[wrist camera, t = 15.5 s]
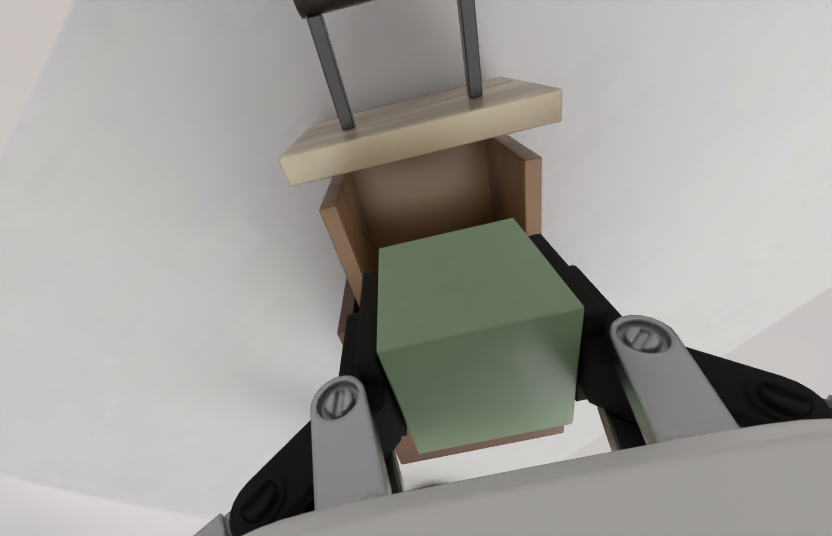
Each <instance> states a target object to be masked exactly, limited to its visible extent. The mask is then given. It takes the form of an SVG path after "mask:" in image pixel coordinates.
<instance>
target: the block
mask: <svg viewBox="0 0 832 536" xmlns="http://www.w3.org/2000/svg"><path fill="white" fill-rule="evenodd" d="M583 315H584V306H583V305H582V304H581V302H580V301H579V300H578V299H577V297H576V296H575V295H574V294H573V292H572V291H571V290H570V289H569V287H568V286H567V285H566V284H565V282H564V281H563V280H562V279H561V277H560V276H559V275H558V273H557V272H556V271H555V270H554V268H553V267H552V266H551V265H550V263H549V262H548V261H547V260H546V258H545V257H544V256H543V255H542V253H541V252H540V251H539V250H538V248H537V247H536V246H535V245H534V243H533V242H532V241H531V240H530V238H529V237H528V236H527V235H526V233H525V232H524V231H523V230H522V228H521V227H520V226H519V225H518V223H517V222H516V221H515V220H514V218H510V219H505V220H501V221H497V222H492V223H488V224H484V225H479V226H475V227H471V228H466V229H462V230H458V231H453V232H449V233H445V234H440V235H436V236H431V237H427V238H423V239H418V240H414V241H410V242H405V243H401V244H397V245H392V246H388V247H384V248H380V249H379V272H378V314H377V354H378V356H379V359H380V361H381V363H382V366H383V368H384V371H385V373H386V375H387V378H388V380H389V383H390V385H391V388H392V390H393V392H394V395H395V397H396V400H397V402H398V404H399V407H400V409H401V412H402V414H403V417H404V419H405V421H406V424H407V426H408V429H409V431H410V433H411V436H412V438H413V441H414V443H415V445H416V448H417V450H418V452H419V453H420V454H421V453H426V452H431V451H436V450H441V449H446V448H451V447H457V446H462V445H467V444H472V443H477V442H482V441H487V440H492V439H497V438H502V437H507V436H512V435H517V434H522V433H527V432H532V431H537V430H542V429H547V428H552V427H557V426H563V425H568V424H571V423H572V421H573V411H574V402H575V392H576V382H577V373H578V363H579V354H580V344H581V334H582V325H583Z"/></svg>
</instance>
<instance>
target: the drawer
mask: <svg viewBox="0 0 832 536" xmlns="http://www.w3.org/2000/svg"><path fill="white" fill-rule="evenodd" d="M293 1H294V4H295V6H296V9H297V11H298V13H299V15H300V16H301V18H302V19H307V22H308V25H309V28H310V31H311V34H312V37H313V40H314V44H315V47H316V50H317V53H318V56H319V59H320V62H321V65H322V69H323V72H324V75H325V78H326V81H327V84H328V87H329V90H330V93H331V97H332V100H333V103H334V106H335V109H336V112H337V115H338V118H335V119H331V120H327V121H323V122H319V123H315V124H313V125H312V126H311V127H310V128H309V129H308V130H307V131H306V132H305V133H304V134H303V135H302V136H301V137H300V138H299V139H298V140H297V141H296V142H295V143H294V144H293V145H292V146H291V147H290V148H289V149H288V150H287V151H286V152H285V153H284V154H283V155H282V156H281V157H280V158H279V159H278V160H279V163H280V165H281V167H282V169H283V172H284V174H285V176H286V178H287V181H288V183H289V185H290V186H295V185H299V184H304V183H308V182H312V181H316V180H320V179H324V178H328V177H332V176H333V178H332V180H331V183H330V185H329V188H328V190H327V193H326V195H325V197H324V200H323V202H322V205H321V207H320V209H319V211H320V213H321V216H322V218H323V221H324V223H325V226H326V228H327V230H328V233H329V235H330V238H331V240H332V243H333V245H334V247H335V250H336V252H337V255H338V257H339V259H340V262H341V264H342V267H343V269H344V272H345V274H346V276H347V279H348V281H349V284H350V286H351V289H352V291H353V293H354V296H355V298H356V301H357V303H358V306H359V308H360V298H361V287H362V277H363V273H367V272H371V271H375V270H379V249H380V248H384V247H388V246H392V245H397V244H401V243H405V242H410V241H414V240H418V239H423V238H427V237H431V236H436V235H440V234H445V233H449V232H453V231H458V230H462V229H466V228H471V227H475V226H479V225H484V224H488V223H492V222H497V221H501V220H505V219H510V218H514V220H515V221H516V222H517V223H518V225H519V226H520V227H521V228H522V230H523V231H524V232H525V233H526V235H527V236H530V235H534V234H541V168H542V158H541V157H540V156H539V155H537V154H536V153H534V152H533V151H531V150H530V149H528V148H527V147H525V146H523V145H522V144H520V143H519V142H517V141H516V140H514V139H513V138H511V137H510V136H508V135H507V134H510V133H514V132H518V131H522V130H526V129H531V128H535V127H539V126H543V125H547V124H551V123H555V122H559V121H561V112H562V89H561V88H555V87H550V86H545V85H540V84H535V83H529V82H524V81H519V80H514V79H508V78H503V77H498V78H494V79H490V80H486V81H482V80H481V68H480V57H479V45H478V34H477V22H476V11H475V0H457V5H458V14H459V23H460V32H461V42H462V51H463V60H464V69H465V78H466V86H462V87H458V88H454V89H450V90H446V91H442V92H438V93H434V94H430V95H426V96H422V97H418V98H414V99H410V100H407V101H403V102H399V103H395V104H391V105H387V106H383V107H379V108H375V109H371V110H367V111H363V112H359V113H355V114H352V112H351V108H350V105H349V102H348V98H347V95H346V92H345V88H344V85H343V81H342V78H341V75H340V71H339V68H338V65H337V61H336V58H335V54H334V51H333V48H332V44H331V41H330V38H329V34H328V31H327V28H326V24H325V21H324V17H323V16H322V14H325V13H329V12H333V11H337V10H340V9H344V8H348V7H351V6H355V5H359V4H363V3H366V2H370V1H374V0H293Z"/></svg>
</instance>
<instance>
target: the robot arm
mask: <svg viewBox="0 0 832 536" xmlns="http://www.w3.org/2000/svg"><path fill="white" fill-rule="evenodd" d="M528 237H529V238H530V240H531V241H532V242H533V243H534V245H535V246H536V247H537V248H538V250H539V251H540V252H541V253H542V255H543V256H544V257H545V258H546V260H547V261H548V262H549V263H550V265H551V266H552V267H553V268H554V270H555V271H556V272H557V273H558V275H559V276H560V277H561V279H562V280H563V281H564V282H565V284H566V285H567V286H568V287H569V289H570V290H571V291H572V292H573V294H574V295H575V296H576V297H577V299H578V300H579V301H580V302H581V304H582V305H583V306H584V315H583V325H582V334H581V344H580V354H579V363H578V373H577V382H576V392H575V400H576V401H581V400H586V399H588V401H589V402H590V403H592V404H594V405H596V406H597V407H598V411H599V414H600V417H601V420H602V424H603V427H604V430H605V433H606V436H607V438H608V442H609V445H610V447H611V451H612V452H608V453H602V454H597V455H592V456H587V457H581V458H576V459H571V460H565V461H560V462H555V463H550V464H545V465H539V466H534V467H529V468H524V469H519V470H514V471H508V472H503V473H498V474H493V475H488V476H483V477H477V478H472V479H467V480H462V481H457V482H452V483H447V484H442V485H437V486H432V487H427V488H422V489H417V490H412V491H405V487H404V483H403V479H402V476H401V472H400V468H399V464H398V461H397V457H396V453H395V450H394V449H395V448H396V447H397V445H398V444H399V443H400V441H401V440H402V438H401V437H402V436H407V424H406V421H405V419H404V417H403V414H402V412H401V409H400V407H399V404H398V402H397V400H396V397H395V395H394V392H393V390H392V388H391V385H390V383H389V380H388V378H387V375H386V373H385V371H384V368H383V366H382V363H381V361H380V359H379V356H378V354H377V314H378V272H379V270H375V271H371V272H367V273H363V277H362V287H361V298H360V308H359V312H358V313H354V314H349V315H348V316H347V321H346V328H345V335H344V342H343V349H342V357H341V364H340V371H339V377H336V378H334V379H332V380H330V381H328V382H327V383H325V384H324V385H323V386H322V387H321V388H320V389H319V390H318V391H317V393H316V394H315V396H314V398H313V400H312V402H311V410H310V411H311V420H310V421H309V422H308V423H307V424H306V425H305V426H304V427H303V428H302V429H301V430H300V431H299V432H298V433H297V434H296V435H295V436H294V437H293V438H292V439H291V440H290V441H289V442H288V443H287V444H286V445H285V446H284V447H283V448H282V449H281V450H280V451H279V452H278V453H277V454H276V455H275V456H274V457H273V458H272V459H271V460H270V461H269V462H268V463H267V464H266V465H265V466H264V467H263V468H262V469H261V470H260V471H259V472H258V473H257V474H256V475H255V476H254V477H253V478H252V479H251V480H250V481H249V482H248V483H247V484H246V485H245V486H244V487H243V489H242V490H241V491H240V492H239V494H238V496H237V498H236V499H235V501H234V503H233V506H232V509H231V511H230V512H229V513H227V514H226V515H225V516H223V515H222V514H221V513H220V514H219V515H218V516H217V517H215V518H214V519H213V520H212V521H211V522H209V523H208V524H207V525H206V526H204V527H203V528H202V529H201V530H200V531H199V532H197V533H196V534H195V535H194V536H832V395H829V396H828V397H827V399H822V398H821V397H820V396H819V395H817V394H816V393H815V392H813V391H812V390H810V389H809V388H807V387H805V386H804V385H802V384H800V383H798V382H796V381H793V380H791V379H788V378H786V377H783V376H780V375H777V374H774V373H770V372H766V371H764V370H760V369H757V368H753V367H750V366H747V365H744V364H740V363H737V362H733V361H730V360H727V359H724V358H721V357H717V356H714V355H711V354H708V353H704V352H701V351H698V350H694V349H691V348H688V347H685V346H684V344H683V343H682V341H681V340H680V338H679V337H678V335H677V334H676V333H675V332H674V331H673V329H672V328H671V327H669V326H668V325H666V324H665V323H663V322H661V321H659V320H656V319H654V318H651V317H647V316H642V315H628V316H621V315H620V314H619V312H618V311H617V310H616V309H615V308H614V307H613V306H612V305H611V304H610V303H609V301H608V300H607V299H606V298H605V297H604V296H603V295H602V294H601V293H600V292H599V291H598V289H597V288H596V287H595V286H594V285H593V284H592V283H591V282H590V281H589V280H588V278H587V277H586V276H585V275H584V274H583V273H582V272H581V271H580V270H579V269H578V268H577V267H576V266H574V265H571V266H568V265H567V263H566V262H565V261H564V260H563V259H562V258H561V257H560V255H559V254H558V253H557V252H556V251H555V250H554V249H553V247H552V246H551V245H550V244H549V243H548V242H547V241H546V240H545V238H544V237H543V236H542V235H541V234H534V235H530V236H528Z"/></svg>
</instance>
